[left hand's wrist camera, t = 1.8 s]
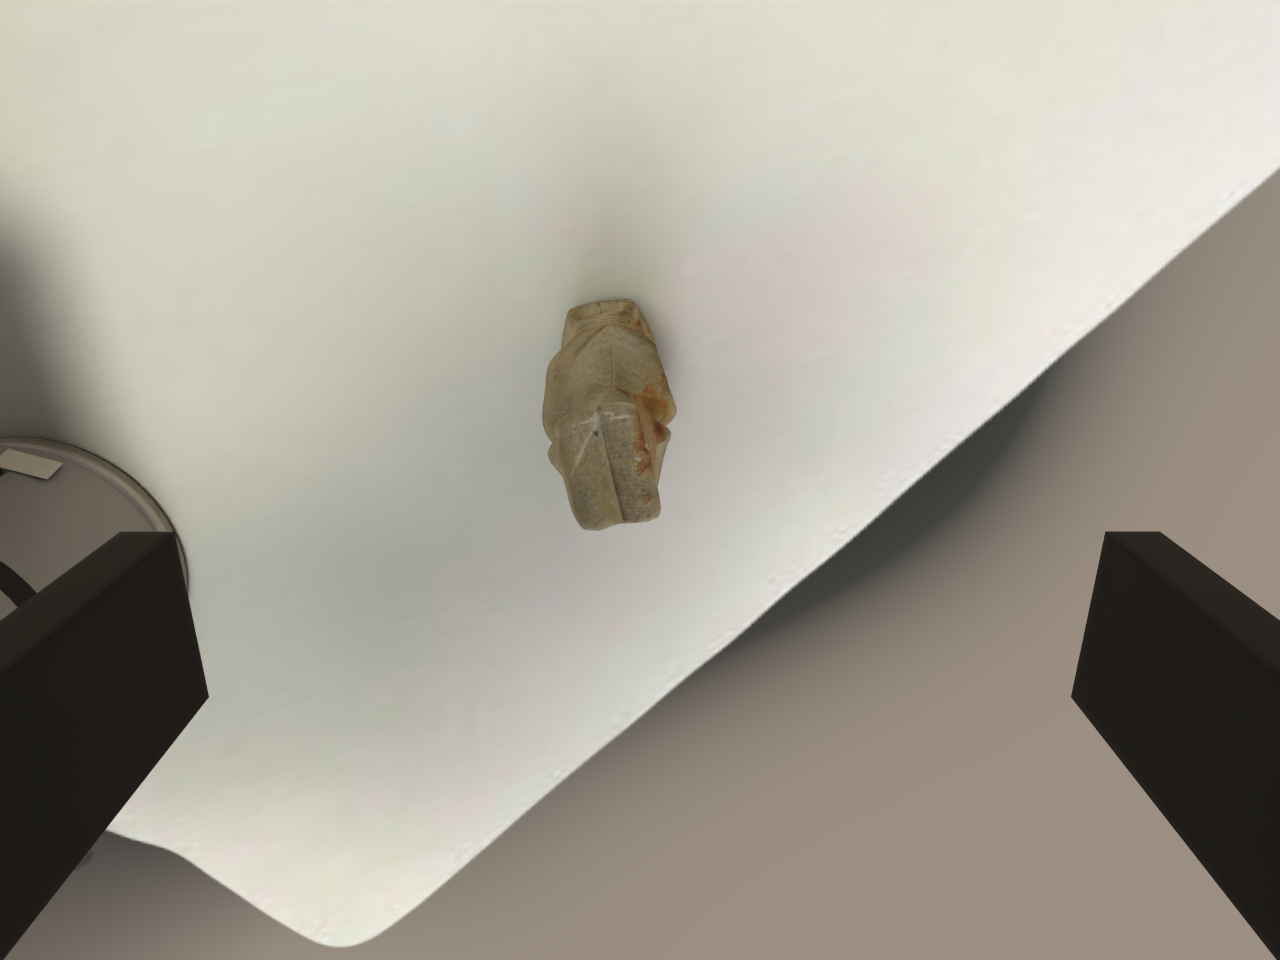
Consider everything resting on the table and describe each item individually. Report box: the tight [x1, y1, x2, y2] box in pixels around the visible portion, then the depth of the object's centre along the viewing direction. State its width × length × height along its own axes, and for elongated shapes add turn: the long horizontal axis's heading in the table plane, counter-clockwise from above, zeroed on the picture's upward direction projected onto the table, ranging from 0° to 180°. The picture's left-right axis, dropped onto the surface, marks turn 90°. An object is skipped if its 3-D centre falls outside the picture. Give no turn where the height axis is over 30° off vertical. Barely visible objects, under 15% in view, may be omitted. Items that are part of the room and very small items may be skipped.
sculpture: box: [542, 299, 677, 531], centre depth 39 cm, size 6×7×15 cm
